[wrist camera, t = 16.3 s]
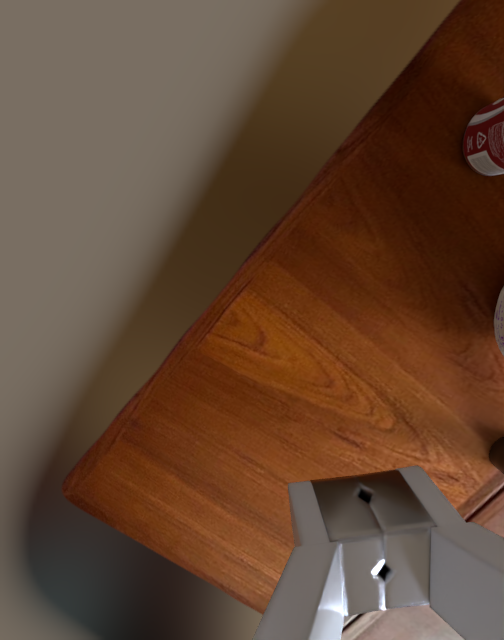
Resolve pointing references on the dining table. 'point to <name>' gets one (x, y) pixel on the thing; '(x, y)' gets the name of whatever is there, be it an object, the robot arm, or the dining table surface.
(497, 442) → the pepper mill
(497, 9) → the dining table surface
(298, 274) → the dining table surface
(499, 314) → the paper bowls
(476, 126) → the soda can
